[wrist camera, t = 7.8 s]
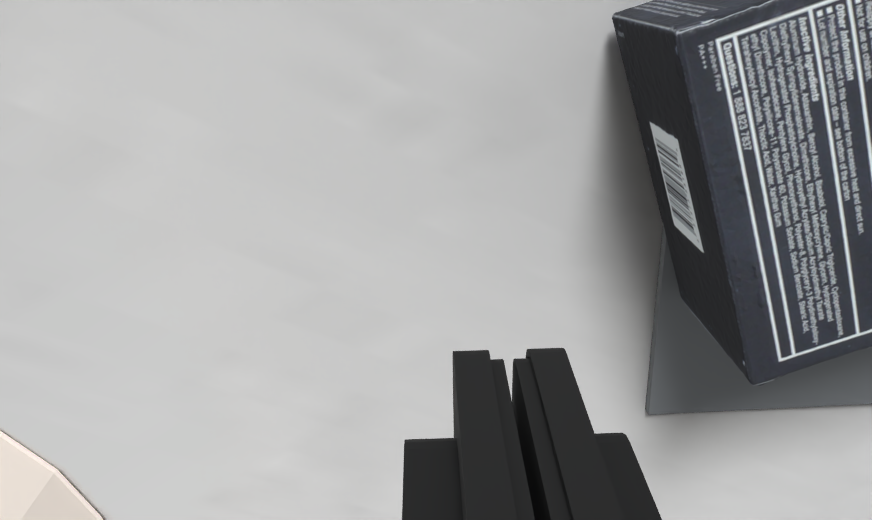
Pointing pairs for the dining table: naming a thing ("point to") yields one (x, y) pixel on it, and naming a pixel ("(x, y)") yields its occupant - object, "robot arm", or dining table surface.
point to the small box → (761, 168)
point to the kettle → (36, 488)
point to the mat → (733, 366)
